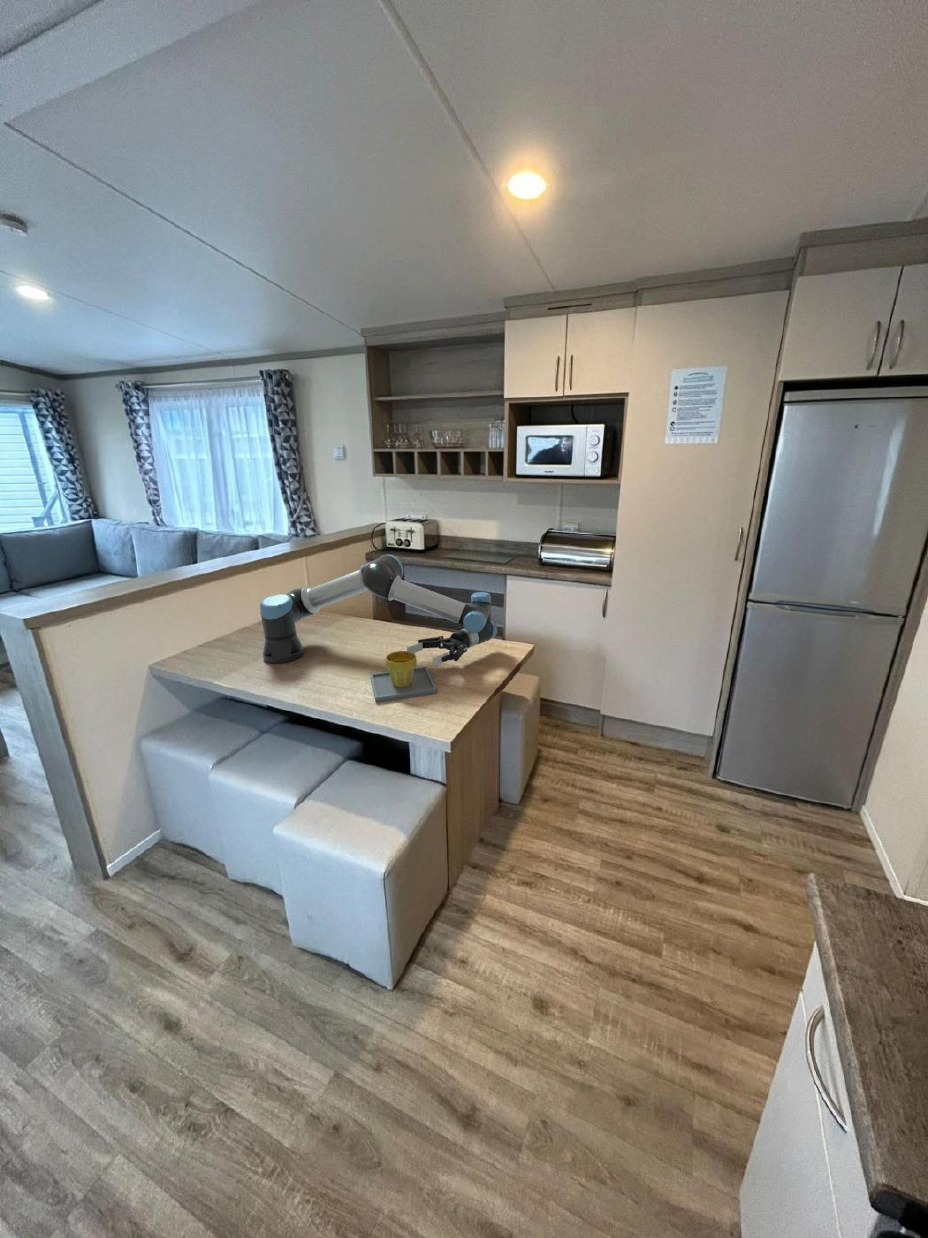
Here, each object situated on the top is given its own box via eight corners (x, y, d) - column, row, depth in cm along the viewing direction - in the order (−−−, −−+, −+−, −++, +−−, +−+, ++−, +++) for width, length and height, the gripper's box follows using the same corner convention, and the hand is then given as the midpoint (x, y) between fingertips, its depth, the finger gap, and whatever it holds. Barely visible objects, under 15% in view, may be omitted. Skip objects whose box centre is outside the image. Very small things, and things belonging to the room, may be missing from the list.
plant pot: (422, 678, 167) (421, 652, 163) (409, 692, 157) (407, 664, 154) (395, 674, 170) (393, 649, 167) (381, 687, 161) (379, 660, 158)
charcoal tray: (375, 702, 153) (375, 697, 153) (370, 678, 170) (370, 673, 169) (437, 693, 158) (436, 688, 158) (426, 671, 175) (426, 666, 174)
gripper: (488, 657, 173) (445, 677, 159) (441, 640, 190) (398, 656, 176) (488, 638, 171) (444, 656, 157) (440, 622, 188) (397, 637, 173)
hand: (420, 656), depth 166 cm, fingers open, 13 cm apart
